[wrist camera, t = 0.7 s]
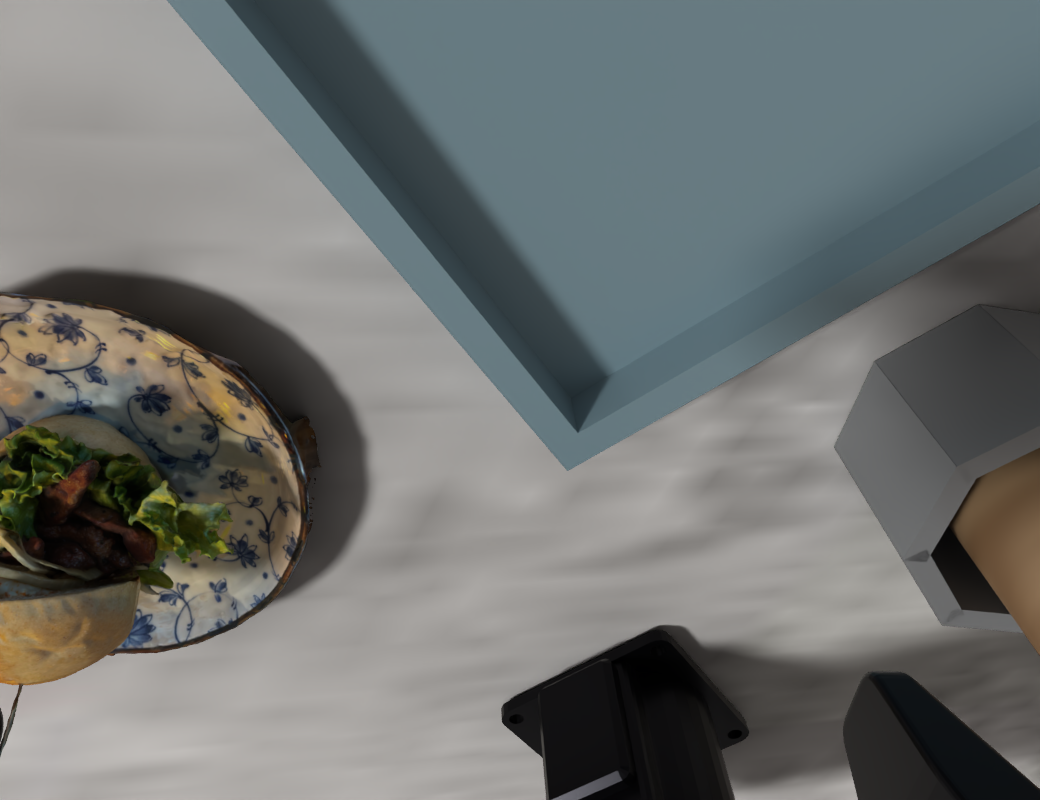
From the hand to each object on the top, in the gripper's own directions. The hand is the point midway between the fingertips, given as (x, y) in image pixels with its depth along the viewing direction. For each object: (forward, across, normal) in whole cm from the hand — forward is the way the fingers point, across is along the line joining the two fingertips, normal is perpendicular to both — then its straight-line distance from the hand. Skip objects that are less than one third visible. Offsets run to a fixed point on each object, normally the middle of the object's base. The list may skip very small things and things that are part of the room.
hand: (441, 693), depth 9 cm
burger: (+14, +10, +7) cm, 18 cm away
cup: (+13, -14, +5) cm, 20 cm away
